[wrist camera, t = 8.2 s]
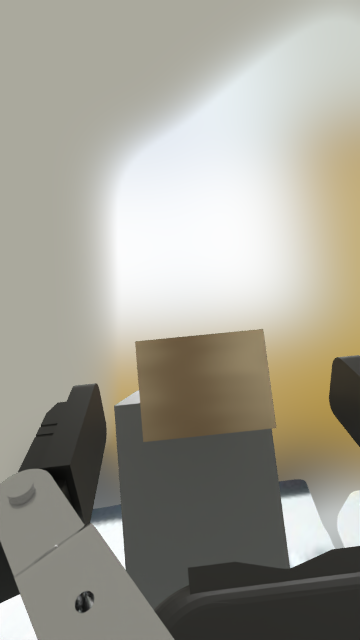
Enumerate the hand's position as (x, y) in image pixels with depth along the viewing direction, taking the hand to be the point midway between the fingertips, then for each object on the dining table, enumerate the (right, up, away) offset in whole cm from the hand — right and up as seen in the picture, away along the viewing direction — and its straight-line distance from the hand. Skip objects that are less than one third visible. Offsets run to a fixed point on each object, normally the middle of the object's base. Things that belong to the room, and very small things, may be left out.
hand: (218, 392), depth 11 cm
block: (-1, -3, +13) cm, 14 cm away
